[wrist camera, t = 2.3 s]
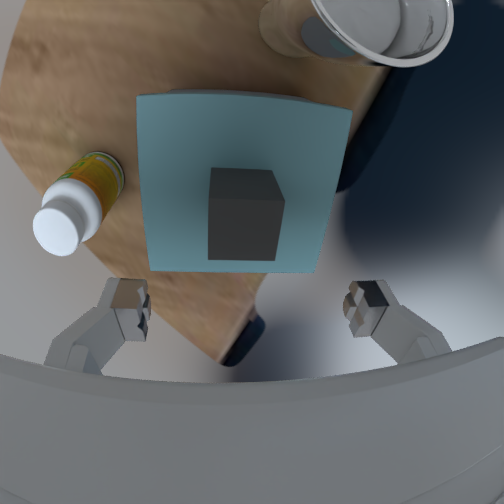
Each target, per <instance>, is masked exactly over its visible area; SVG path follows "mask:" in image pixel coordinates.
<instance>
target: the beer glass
mask: <svg viewBox="0 0 504 504" xmlns="http://www.w3.org/2000/svg"><path fill="white" fill-rule="evenodd" d="M453 16H454V14H453V6H452V1H451V0H270V1H269V2H268V3H267V4H266V5H265V6H264V7H263V8H262V10H261V12H260V15H259V19H258V27H259V31H260V34H261V36H262V38H263V40H264V41H265V42H266V44H267V45H268V46H269V47H270V48H272V49H273V50H274V51H276V52H278V53H279V54H282V55H284V56H288V57H293V58H304V57H309V56H312V57H314V58H317V59H320V60H323V61H326V62H330V63H335V64H342V65H348V66H366V67H373V66H395V67H414V66H419V65H422V64H425V63H427V62H429V61H431V60H433V59H434V58H435V57H437V56H438V55H439V54H440V53H441V52H442V51H443V50H444V48H445V47H446V45H447V43H448V41H449V39H450V37H451V33H452V29H453V21H454V17H453Z"/></svg>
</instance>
